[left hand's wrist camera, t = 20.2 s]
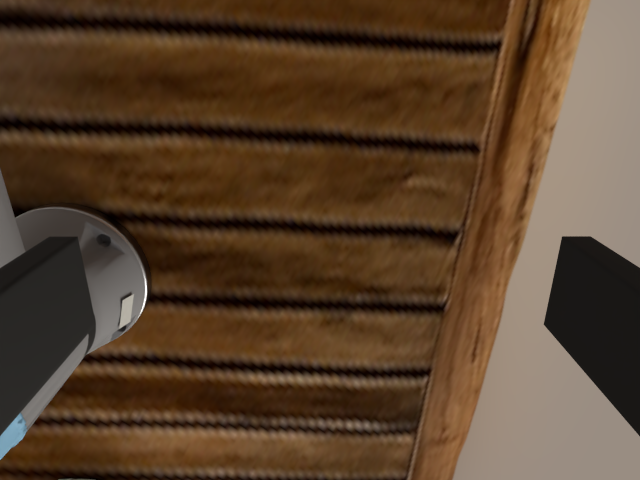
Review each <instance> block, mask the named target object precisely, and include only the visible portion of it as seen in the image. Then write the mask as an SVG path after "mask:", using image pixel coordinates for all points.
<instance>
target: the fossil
mask: <svg viewBox="0 0 640 480" xmlns="http://www.w3.org/2000/svg"><path fill="white" fill-rule="evenodd" d="M59 480H94V479H72V478H70V479H59Z"/></svg>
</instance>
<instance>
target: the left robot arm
mask: <svg viewBox="0 0 640 480" xmlns="http://www.w3.org/2000/svg"><path fill="white" fill-rule="evenodd" d="M150 293H151V273H150V268H149V265H148V262H147V259H146V257H145V254H144V253H143V251H142V249H141V247H140V246H139V244H138V243H137V241H136V240H135V239H134V238H133V236H132V235H131V234H130V233H129V232H128V231H127V230H126V229H125V228H124V227H123V226H121V225H120V224H119V223H118V222H116V221H115V220H113V219H112V218H110V217H109V216H107V215H105V214H103V213H101V212H99V211H97V210H94V209H92V208H88V207H85V206H81V205H77V204H69V203H54V204H47V205H43V206H39V207H36V208H34V209H31V210H29V211H27V212H26V213H24V214H22V215H20V216H18V217H16V218H15V217H14V213H13V210H12V207H11V203H10V200H9V196H8V193H7V190H6V186H5V183H4V180H3V176H2V173H1V169H0V460H1V459H2V457H3V456H4V455H5V454H6V453H7V452H8V451H9V450H10V449H11V448H12V447H14V446H15V445H17V444H18V443H19V442H20V441H21V440H22V439H23V437H24V436H25V434H26V432H27V431H28V429H29V428H30V427H31V426H32V424H33V423H34V422H35V420H36V419H37V418H38V416H39V415H40V414H41V413H42V411H43V410H44V409H45V407H46V406H47V405H48V403H49V402H50V401H51V400H52V398H53V397H54V396H55V394H56V393H57V392H58V390H59V389H60V388H61V387H62V385H63V384H64V383H65V381H66V380H67V379H68V377H69V376H70V375H71V374H72V372H73V371H74V370H75V368H76V367H77V366H78V364H79V363H80V362H81V360H82V359H83V358H84V357H85V355H86V354H88V353H90V352H92V351H94V350H96V349H97V348H99V347H101V346H103V345H105V344H107V343H109V342H110V341H113V340H114V339H116V338H118V337H119V336H121V335H122V334H123V333H125V332H126V331H127V330H129V329H130V328H131V327H132V326H133V324H134V323H135V322H136V321H137V319H138V318H139V317H140V315H141V314H142V312H143V311H144V309H145V307H146V305H147V303H148V300H149V297H150ZM544 325H545V326H546V328H547V329H548V330H549V331H550V332H551V333H552V334H553V336H554V337H555V338H556V339H557V340H558V341H559V343H560V344H561V345H562V346H563V347H564V348H565V350H566V351H567V352H568V353H569V354H570V355H571V357H572V358H573V359H574V360H575V361H576V362H577V364H578V365H579V366H580V367H581V368H582V369H583V371H584V372H585V373H586V374H587V375H588V376H589V378H590V379H591V380H592V381H593V382H594V383H595V385H596V386H597V387H598V388H599V389H600V390H601V391H602V393H603V394H604V395H605V396H606V397H607V398H608V400H609V401H610V402H611V403H612V404H613V405H614V407H615V408H616V409H617V410H618V411H619V412H620V414H621V415H622V416H623V417H624V418H625V419H626V421H627V422H628V423H629V424H630V425H631V426H632V428H633V429H634V430H635V431H636V432H637V433H638V435H639V436H640V268H639V267H637V266H636V265H634V264H633V263H631V262H630V261H628V260H626V259H625V258H623V257H622V256H620V255H619V254H617V253H615V252H614V251H612V250H611V249H609V248H608V247H606V246H604V245H603V244H601V243H600V242H598V241H597V240H595V239H594V238H592V237H562V240H561V245H560V250H559V254H558V259H557V264H556V269H555V274H554V278H553V283H552V288H551V293H550V297H549V302H548V307H547V312H546V317H545V322H544Z"/></svg>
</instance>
